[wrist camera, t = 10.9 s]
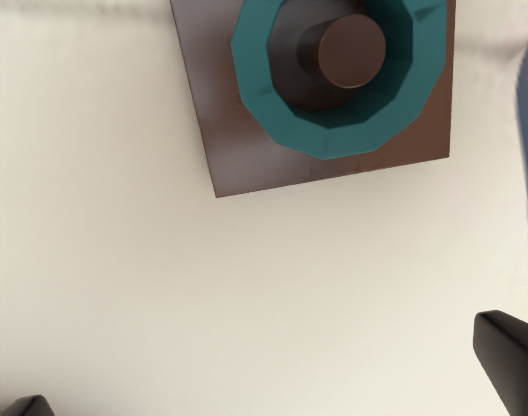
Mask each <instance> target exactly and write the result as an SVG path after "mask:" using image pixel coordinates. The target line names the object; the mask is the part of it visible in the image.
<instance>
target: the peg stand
mask: <svg viewBox="0 0 528 416" xmlns="http://www.w3.org/2000/svg"><path fill="white" fill-rule="evenodd" d="M242 3H243V0H170V4H171V8H172V13H173V17H174V21H175V25H176V30H177V34H178V38H179V42H180V47H181V51H182V55H183V59H184V64H185V68H186V72H187V76H188V81H189V85H190V89H191V93H192V98H193V102H194V106H195V110H196V115H197V119H198V123H199V127H200V132H201V136H202V140H203V145H204V149H205V153H206V157H207V162H208V166H209V170H210V174H211V179H212V183H213V187H214V191H215V196H216V198H220V197H226V196H231V195H237V194H243V193H249V192H254V191H260V190H266V189H271V188H277V187H283V186H288V185H294V184H300V183H305V182H311V181H317V180H323V179H328V178H334V177H340V176H345V175H351V174H357V173H362V172H368V171H374V170H380V169H385V168H391V167H397V166H402V165H408V164H414V163H419V162H425V161H431V160H437V159H442V158H448V157H449V151H450V127H451V103H452V79H453V55H454V31H455V7H456V0H446V3H447V30H446V61H445V65H444V68H443V70H442V72H441V74H440V75H439V77H438V79H437V81H436V83H435V85H434V87H433V89H432V91H431V93H430V95H429V97H428V98H427V100H426V102H425V104H424V106H423V108H422V110H421V112H420V114H419V116H418V117H417V119H416V120H414V121H413V122H412V123H410V124H409V125H408V126H406V127H405V128H404V129H402V130H401V131H400V132H398V133H397V134H396V135H395V136H393V137H392V138H391V139H389V140H388V141H387V142H385V143H384V144H383V145H381V146H380V147H379V148H377V149H376V150H375V151H372V152H366V153H360V154H355V155H349V156H343V157H338V158H332V159H327V160H321V159H319V158H316V157H313V156H310V155H307V154H305V153H302V152H299V151H296V150H293V149H291V148H288V147H285V146H282V145H280V144H277V143H276V142H275V141H274V140H273V139H272V138H271V137H270V136H269V134H268V133H267V132H266V131H265V129H264V128H263V127H262V126H261V125H260V123H259V122H258V121H257V120H256V119H255V117H254V116H253V115H252V114H251V113H250V111H249V110H248V109H247V108H246V106H245V105H244V104H243V102H242V100H241V97H240V91H239V86H238V81H237V75H236V70H235V65H234V59H233V54H232V48H231V38H232V35H233V32H234V29H235V25H236V22H237V19H238V16H239V12H240V9H241V6H242ZM267 51H268V58H269V65H270V71H271V78H272V85H273V87H274V89H275V90H276V91H277V93H278V94H279V95H280V96H281V98H282V99H283V100H284V102H285V103H287V104H290V105H293V106H295V107H298V108H300V109H303V110H306V111H308V112H311V113H312V112H317V111H323V110H328V109H334V108H339V107H341V106H342V105H343V104H344V103H346V102H347V101H348V100H349V99H350V98H352V97H353V96H354V95H355V94H357V93H358V92H359V91H360V90H362V89H363V88H364V86H365V84H366V83H367V82H369V81H370V80H371V79H372V78H373V77H374V76H375V75H376V74H377V73H378V71H379V70H380V68H381V66H382V64H383V61H384V58H385V52H386V43H385V37H384V34H383V32H382V30H381V28H380V27H379V25H378V24H377V23H376V22H375V21H374V20H372V19H371V17H370V16H369V14H368V12H367V11H366V9H365V7H364V6H363V4H362V3H361V1H360V0H286V1H285V2H284V3H283V4H282V5H281V6H280V9H279V12H278V14H277V17H276V20H275V23H274V26H273V29H272V32H271V35H270V38H269V41H268V43H267Z"/></svg>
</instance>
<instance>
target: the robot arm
mask: <svg viewBox="0 0 528 416" xmlns="http://www.w3.org/2000/svg"><path fill="white" fill-rule="evenodd" d="M473 348H474V351H475V354H476V356H477V358H478V359H479V361H480V363H481V365H482V367H483V368H484V370H485V372H486V374H487V375H488V377H489V379H490V381H491V382H492V384H493V386H494V388H495V390H496V391H497V393H498V395H499V397H500V398H501V400H502V402H503V404H504V405H505V407H506V409H507V411H508V412H509V414H510V416H528V323H526V322H524V321H522V320H519V319H517V318H515V317H513V316H511V315H508V314H506V313H504V312H502V311H499V310H491V311H485V312H480V313H478V314H476V316H475V319H474V333H473ZM0 416H55V415H54V413H53V411H52V409H51V408H50V406H49V404H48V402H47V400H46V399H45V397H44V396H42V395H32V396H27V397H22V398H20V399H18V400H16V401H15V402H14V403H13V404H12V405H11V406H9V407H8V408H7V409H6V410H5V411H4V412H2V413H1V414H0Z"/></svg>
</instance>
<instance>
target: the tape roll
mask: <svg viewBox="0 0 528 416" xmlns="http://www.w3.org/2000/svg"><path fill="white" fill-rule="evenodd" d="M285 1H286V0H243V3H242V6H241V9H240V12H239V16H238V19H237V22H236V25H235V29H234V32H233V35H232V38H231V48H232V54H233V59H234V65H235V70H236V75H237V81H238V86H239V91H240V97H241V100H242V102H243V104H244V105H245V106H246V108H247V109H248V110H249V111H250V113H251V114H252V115H253V116H254V117H255V119H256V120H257V121H258V122H259V123H260V125H261V126H262V127H263V128H264V129H265V131H266V132H267V133H268V134H269V136H270V137H271V138H272V139H273V140H274V141H275V142H276V143H277V144H280V145H282V146H285V147H288V148H291V149H293V150H296V151H299V152H302V153H305V154H307V155H310V156H313V157H316V158H319V159H321V160H327V159H332V158H338V157H343V156H349V155H355V154H360V153H366V152H372V151H375V150H376V149H377V148H379V147H380V146H381V145H383V144H384V143H385V142H387V141H388V140H389V139H391V138H392V137H393V136H395V135H396V134H397V133H398V132H400V131H401V130H402V129H404V128H405V127H406V126H408V125H409V124H410V123H412V122H413V121H414V120H416V119H417V117H418V116H419V114H420V112H421V110H422V108H423V106H424V104H425V102H426V100H427V98H428V97H429V95H430V93H431V91H432V89H433V87H434V85H435V83H436V81H437V79H438V77H439V75H440V74H441V72H442V70H443V68H444V65H445V61H446V30H447V3H446V0H360V1H361V3H362V4H363V6H364V7H365V9H366V11H367V12H368V14H369V16H370V17H371V19H372V20H374V21H375V22H376V23H377V24H378V25H379V27H380V28H381V30H382V32H383V34H384V37H385V43H386V52H385V58H384V61H383V64H382V66H381V68H380V70H379V71H378V73H377V74H376V75H375V76H374V77H373V78H372V79H371V80H370V81H369V82H367V83H366V84H365V86H364V88H363V89H362V90H360V91H359V92H358V93H357V94H355V95H354V96H353V97H352V98H350V99H349V100H348V101H347V102H346V103H344V104H343V105H342V106H341V107H339V108H334V109H328V110H323V111H317V112H312V113H311V112H308V111H306V110H303V109H300V108H298V107H295V106H293V105H290V104H287V103H285V102H284V100H283V99H282V98H281V96H280V95H279V94H278V93H277V91H276V90H275V89H274V87H273V85H272V78H271V71H270V65H269V58H268V51H267V43H268V41H269V38H270V35H271V32H272V29H273V26H274V23H275V20H276V17H277V14H278V12H279V9H280V6H281V5H282V4H283V3H284V2H285Z"/></svg>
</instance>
